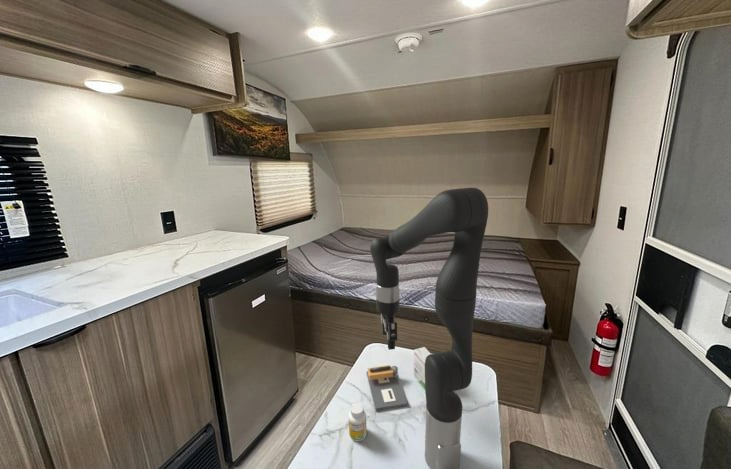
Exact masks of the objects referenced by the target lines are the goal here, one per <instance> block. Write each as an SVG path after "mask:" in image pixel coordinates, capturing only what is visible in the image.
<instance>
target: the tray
mask: <svg viewBox="0 0 731 469" xmlns="http://www.w3.org/2000/svg"><path fill="white" fill-rule="evenodd" d="M366 376H367V377H366V378H367V381H368V385H369V389H370V393H371V397H372V398H371V399H372V402H373V407H374V410H375V412H380V411H386V410H391V409H392V410H393V409H399V408H405V407H408V402H407V399H406V396H405V395H404V391H403V389H402V387H401V383H400V381H399V378H398V374H397V375H393V377H388V378H381V379H375V380H369V376H368V370H367V371H366Z"/></svg>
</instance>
